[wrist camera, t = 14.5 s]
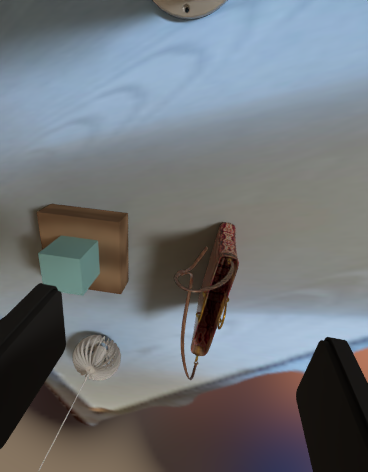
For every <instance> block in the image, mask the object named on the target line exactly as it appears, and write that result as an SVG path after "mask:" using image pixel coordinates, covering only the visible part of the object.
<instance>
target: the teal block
mask: <svg viewBox="0 0 368 472" xmlns="http://www.w3.org/2000/svg"><path fill="white" fill-rule="evenodd" d="M38 256H39V262H40V269H41V275H42V281H43V284H47V285H52V286H56V287H57V289H58V291H60V292H64V293H70V294H77V295H84V294H85V292H86V291H87V290H88V288H89V287H90V286H91V284H92V283H93V282H94V280H95V279H96V278H97V277H98V275H99V274H100V267H99V249H98V240H91V239H84V238H76V237H69V236H60V237H58V238H57V239H56V240H55V241H53V242H52V243H51V244H50V245H48V246H47V247H46V248H44V249H43V250H42V251H41V252H39V253H38Z"/></svg>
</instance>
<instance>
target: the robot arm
mask: <svg viewBox="0 0 368 472" xmlns="http://www.w3.org/2000/svg"><path fill="white" fill-rule="evenodd" d="M226 1H228V0H153V2H154V3H156V4H157V5H158V6H159V7H160V8H161V9H162V10H163V11H165V12H167V13H168V14H170V15H172V16H175V17H178V18H183V19H196V18H201V17H204V16H206V15H209V14H211V13H212V12H214V11H216V10H217V9H219V8H220V7H221V6H222V5H223V4H224V3H225V2H226ZM187 8H188V9H189V12H188V13H186V12H185V10H186V9H187ZM65 347H66V338H65V327H64V316H63V305H62V294H61V292H60V291H58V289H57V287H56V286H52V285H47V284H42V283H40V284H38V285H37V286H36V287H35V288H34V289H33V290H32V291H31V292H30V293H29V294H28V295H27V296H26V297H25V298H24V299H23V300H22V301H21V302H19V303H18V304H17V305H16V306H15V307H14V308H13V309H12V310H11V311H10V312H9V313H8V314H7V315H6V316H5V317H4V318H2V319H1V320H0V449H1V448H2V447H3V446H4V444H5V443H6V442H7V440H8V439H9V437H10V435H11V434H12V432H13V431H14V429H15V428H16V426H17V424H18V423H19V421H20V420H21V418H22V417H23V415H24V413H25V412H26V410H27V409H28V407H29V406H30V404H31V402H32V401H33V399H34V398H35V396H36V395H37V393H38V392H39V390H40V388H41V387H42V385H43V384H44V382H45V381H46V379H47V377H48V376H49V374H50V373H51V371H52V370H53V368H54V367H55V365H56V363H57V362H58V360H59V359H60V357H61V356H62V354H63V352H64V350H65ZM296 400H297V404H298V409H299V413H300V417H301V421H302V426H303V430H304V435H305V439H306V443H307V448H308V452H309V456H310V461H311V465H312V469H313V472H368V383H367V381H366V379H365V377H364V375H363V373H362V371H361V369H360V367H359V365H358V363H357V360H356V358H355V356H354V354H353V352H352V350H351V348H350V346H349V344H348V343H347V341H345V340H341V339H336V338H330V337H327V338H325V340H324V341H323V340H321V341H320V342H319V343H318V345H317V348H316V350H315V352H314V354H313V356H312V358H311V361H310V363H309V365H308V367H307V369H306V371H305V373H304V376H303V378H302V380H301V382H300V384H299V386H298V389H297V392H296Z"/></svg>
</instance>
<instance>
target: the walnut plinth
mask: <svg viewBox="0 0 368 472" xmlns="http://www.w3.org/2000/svg"><path fill="white" fill-rule="evenodd" d="M37 217H38V224H39V230H40V237H41V244H42V250H43V249H44V248H46V247H47V246H48V245H50V244H51V243H52V242H53V241H55V240H56V239H57V238H58V237H60V236H69V237H76V238H84V239H91V240H98V249H99V267H100V274H99V275H98V277H97V278H96V279H95V280H94V282H93V283H92V284H91V286H90V287H89V288H88V289H90V290H96V291H103V292H110V293H116V294H121V293H122V291H123V290H124V288H125V286H126V284H127V283H128V213H122V212H114V211H106V210H97V209H89V208H81V207H73V206H65V205H57V204H50V205H48V206H47V207H45V208H43V209H41V210H39V211H38V212H37Z"/></svg>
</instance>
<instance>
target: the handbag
mask: <svg viewBox="0 0 368 472" xmlns="http://www.w3.org/2000/svg"><path fill="white" fill-rule="evenodd" d="M235 231H236V230H235V226H234V225H233V224H231V223H226V222H224V223H222V224H221V225H220V227H219V229H218V233H217V236H216V239H215V243H214V246H213V249H212V253H211V256H210V259H209V263H208V266H207V269H206V273H205V276H204V279H203V283H202V286H201V289H192V285H193V274H192V273H190V272H188V271H190V270H192V269H193V268H194V267H195V266H196V264H197V263H198V262H199V261H200V259H201V258H202V256H203V255H204V254H205V252H206V251H207V250H208V248H207V247H205V248H204V250H203V251H202V252H201V254H200V255H199V256H198V258H197V259H196V260H195V262H194V263H193V264H192V265H191V266H190V267H189V268H188V269H185V270H179V271H177V273H176V274H175V276H174V280H175V283H176V284H177V285H178V286H179V287H180V288H181V289H183V290H186V291H188V294H187V299H186V304H185V309H184V315H183V321H182V330H181V355H182V362H183V366H184V370H185V373H186V376H187V377H188V379H190V380H192V379H193V377H194V373H195V370H196V367H197V365H198V364H197V363H198V362H197V360H198V356H205V355H206V354H207V352H208V351H209V348H210V346H211V343H212V340H213V337H214V334H215V331H216V329H217V326H218V329H221V327H222V325H223V322H224V319H225V315H226V307H227V302H228V301H229V298H228V295H229V292H230V290H231V287H232V284H233V281H234V279H235V276H236V273H237V270H238V265H239V262H238V258H237V252H236V242H235ZM184 274H190V283H189V288H185V287H183V286H182V285H181V284H180V283H179V281H178V276H179V275H180V276H183V275H184ZM191 292H200V293H199V298H198V306H197V313H196V319H195V326H194V332H193V338H192V344H191V352H192V353H193V354H195V355H196V359H195V362H197V363H195V362H194V368H193V372H192V375H191V377H190V378H189V376H188V373H187V368H186V363H185V355H184V334H185V324H186V317H187V311H188V305H189V300H190V295H191ZM207 297H208V299H207ZM224 306H225V310H224V315H223V319H222V320H221V318H220V317H221V315H222V312H223V309H224ZM219 320H220V321H219ZM219 323H221V325H220V327H219Z"/></svg>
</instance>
